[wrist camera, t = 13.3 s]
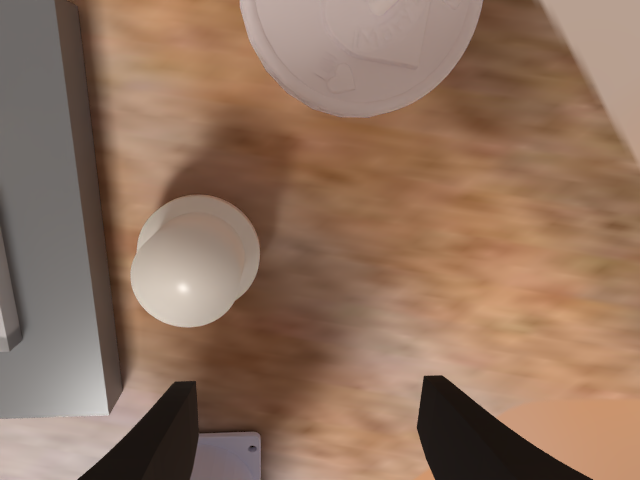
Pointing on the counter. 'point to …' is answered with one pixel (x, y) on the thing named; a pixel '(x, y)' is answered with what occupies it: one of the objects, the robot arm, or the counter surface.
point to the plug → (194, 260)
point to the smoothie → (359, 49)
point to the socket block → (51, 224)
